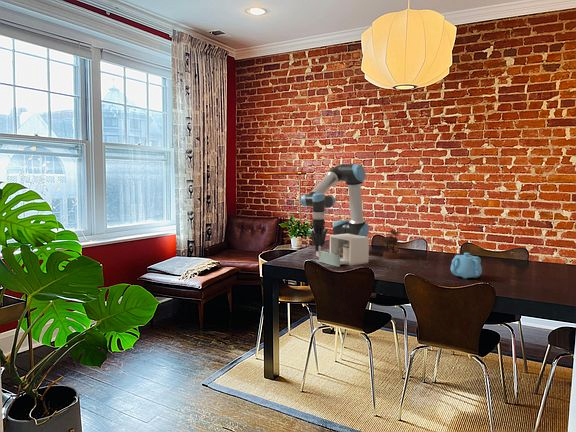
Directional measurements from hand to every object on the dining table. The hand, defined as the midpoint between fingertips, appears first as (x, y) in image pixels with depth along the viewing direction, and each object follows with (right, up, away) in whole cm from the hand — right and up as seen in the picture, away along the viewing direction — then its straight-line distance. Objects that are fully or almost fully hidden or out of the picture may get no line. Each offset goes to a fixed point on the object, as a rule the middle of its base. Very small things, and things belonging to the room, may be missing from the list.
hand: (318, 256), depth 268 cm
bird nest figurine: (+51, -4, +29) cm, 59 cm away
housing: (+21, -5, +15) cm, 26 cm away
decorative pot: (+82, -9, -24) cm, 86 cm away
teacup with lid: (+20, -3, +14) cm, 25 cm away
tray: (+16, -5, +12) cm, 21 cm away
